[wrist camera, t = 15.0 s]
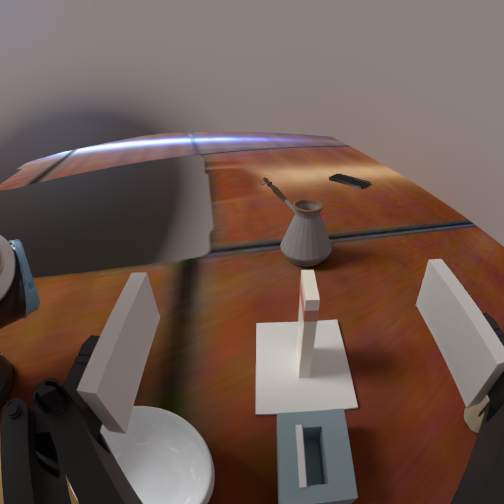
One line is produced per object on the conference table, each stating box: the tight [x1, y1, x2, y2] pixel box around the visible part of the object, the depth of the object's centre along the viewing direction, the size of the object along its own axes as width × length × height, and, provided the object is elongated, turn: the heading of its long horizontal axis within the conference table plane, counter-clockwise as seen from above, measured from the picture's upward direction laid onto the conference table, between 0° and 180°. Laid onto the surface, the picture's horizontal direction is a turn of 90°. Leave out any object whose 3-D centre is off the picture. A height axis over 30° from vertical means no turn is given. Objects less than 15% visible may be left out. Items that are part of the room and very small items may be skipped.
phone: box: [329, 174, 370, 189], centre depth 115 cm, size 8×1×15 cm
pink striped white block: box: [296, 270, 320, 378], centre depth 42 cm, size 6×2×15 cm, turn 178°
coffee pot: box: [260, 178, 332, 267], centre depth 71 cm, size 21×12×15 cm, turn 35°
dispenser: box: [276, 408, 358, 504], centre depth 30 cm, size 12×8×5 cm, turn 179°
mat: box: [256, 320, 358, 415], centre depth 46 cm, size 18×14×1 cm
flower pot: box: [464, 395, 489, 433], centre depth 30 cm, size 9×9×9 cm
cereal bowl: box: [70, 406, 215, 504], centre depth 28 cm, size 17×17×7 cm
